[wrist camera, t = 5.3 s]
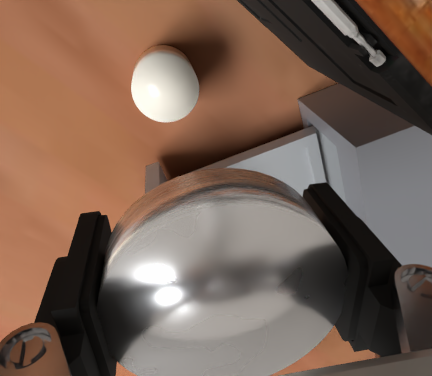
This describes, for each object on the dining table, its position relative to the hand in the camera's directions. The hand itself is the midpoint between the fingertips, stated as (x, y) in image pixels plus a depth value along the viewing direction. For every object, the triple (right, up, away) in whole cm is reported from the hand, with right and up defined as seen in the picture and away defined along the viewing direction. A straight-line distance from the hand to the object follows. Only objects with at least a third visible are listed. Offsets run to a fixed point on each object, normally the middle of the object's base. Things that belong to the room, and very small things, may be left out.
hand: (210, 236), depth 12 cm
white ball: (-3, +9, +13) cm, 16 cm away
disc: (0, -1, -1) cm, 1 cm away
